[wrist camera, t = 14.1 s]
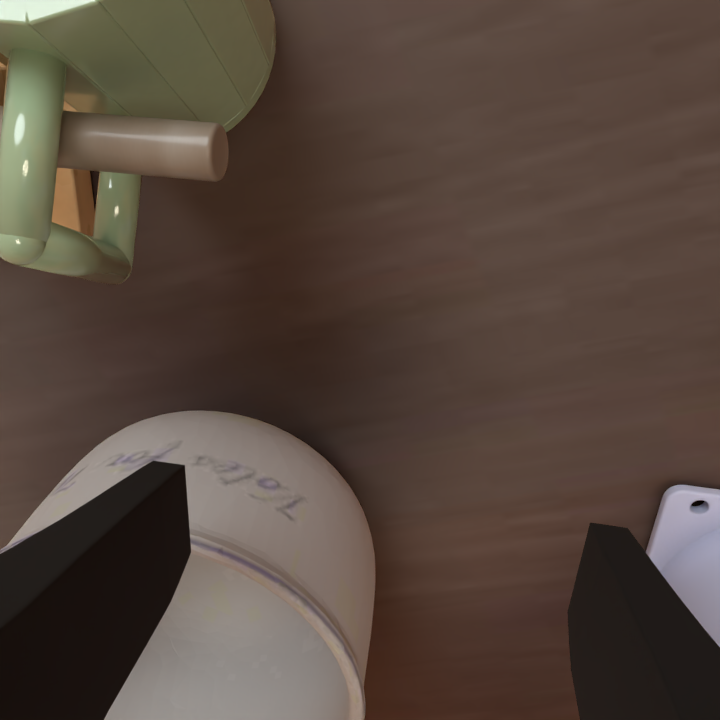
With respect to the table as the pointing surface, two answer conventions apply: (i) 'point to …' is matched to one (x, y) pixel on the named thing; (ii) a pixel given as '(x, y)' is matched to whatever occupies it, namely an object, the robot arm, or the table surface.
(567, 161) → the table surface
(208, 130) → the mug stand
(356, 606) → the teacup
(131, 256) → the mug
